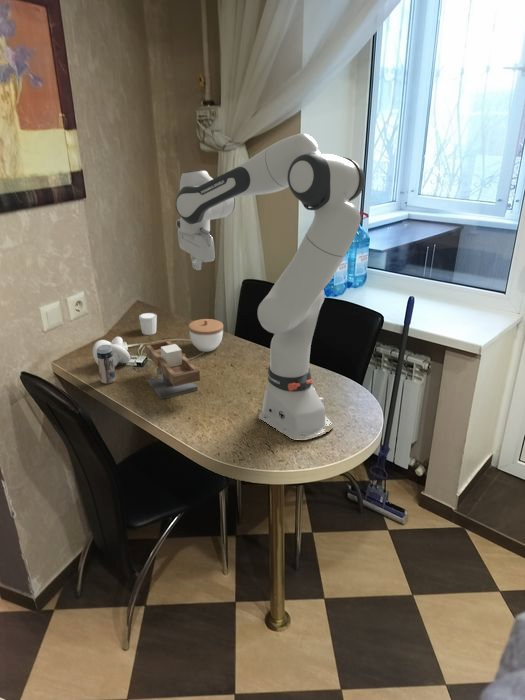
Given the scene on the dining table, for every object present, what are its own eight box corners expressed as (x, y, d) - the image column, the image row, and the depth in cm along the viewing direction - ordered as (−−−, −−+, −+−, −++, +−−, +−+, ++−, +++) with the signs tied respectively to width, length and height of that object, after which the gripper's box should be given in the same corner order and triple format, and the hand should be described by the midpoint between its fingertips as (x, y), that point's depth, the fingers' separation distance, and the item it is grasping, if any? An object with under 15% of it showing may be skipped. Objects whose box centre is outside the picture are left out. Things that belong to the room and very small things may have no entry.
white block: (182, 364, 154) (181, 349, 152) (167, 367, 152) (166, 353, 150) (176, 358, 158) (175, 343, 156) (161, 361, 156) (160, 346, 154)
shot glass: (152, 327, 203) (151, 311, 200) (161, 332, 198) (159, 316, 195) (137, 331, 199) (135, 314, 196) (145, 336, 194) (144, 320, 191)
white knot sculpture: (103, 376, 164) (100, 351, 160) (88, 363, 172) (84, 339, 169) (134, 366, 171) (132, 342, 167) (118, 354, 179) (115, 331, 175)
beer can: (111, 385, 159) (107, 351, 154) (97, 383, 160) (93, 349, 155) (118, 378, 163) (114, 345, 158) (104, 376, 164) (100, 343, 159)
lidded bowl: (182, 346, 187) (181, 319, 182) (210, 338, 195) (209, 311, 190) (202, 357, 179) (201, 329, 174) (230, 348, 186) (230, 321, 182)
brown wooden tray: (206, 399, 152) (205, 369, 148) (169, 409, 147) (167, 378, 142) (175, 366, 172) (174, 338, 167) (141, 374, 166) (139, 345, 162)
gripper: (219, 230, 147) (220, 276, 153) (192, 219, 163) (193, 260, 168) (200, 232, 144) (201, 279, 150) (173, 220, 160) (175, 262, 165)
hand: (196, 269), depth 159 cm, fingers closed
